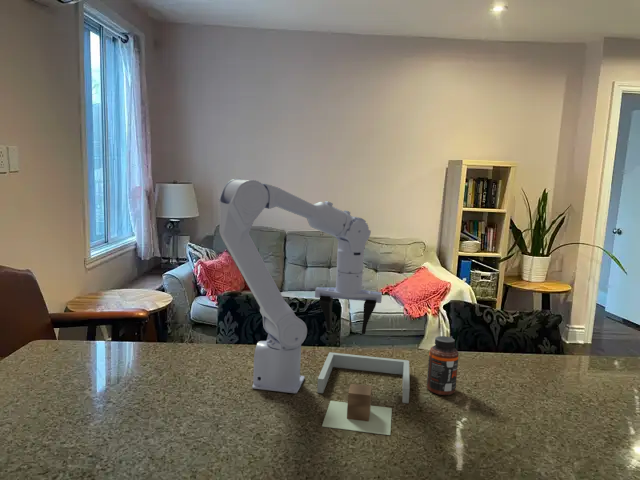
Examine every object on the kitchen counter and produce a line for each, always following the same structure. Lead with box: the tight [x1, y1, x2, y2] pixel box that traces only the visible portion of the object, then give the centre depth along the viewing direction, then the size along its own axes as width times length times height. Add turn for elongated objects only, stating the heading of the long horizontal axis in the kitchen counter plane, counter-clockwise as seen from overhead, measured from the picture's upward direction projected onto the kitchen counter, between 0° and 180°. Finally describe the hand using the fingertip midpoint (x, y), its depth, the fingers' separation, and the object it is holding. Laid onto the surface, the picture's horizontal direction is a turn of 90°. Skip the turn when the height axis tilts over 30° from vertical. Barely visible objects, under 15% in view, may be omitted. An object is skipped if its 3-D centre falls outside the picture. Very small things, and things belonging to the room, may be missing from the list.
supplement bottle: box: [426, 335, 459, 396], centre depth 102 cm, size 6×6×11 cm
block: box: [347, 383, 373, 422], centre depth 90 cm, size 4×4×5 cm
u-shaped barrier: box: [316, 351, 411, 404], centre depth 105 cm, size 18×15×3 cm
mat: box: [321, 400, 393, 436], centre depth 90 cm, size 12×10×1 cm
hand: (346, 331), depth 108 cm, fingers open, 7 cm apart
